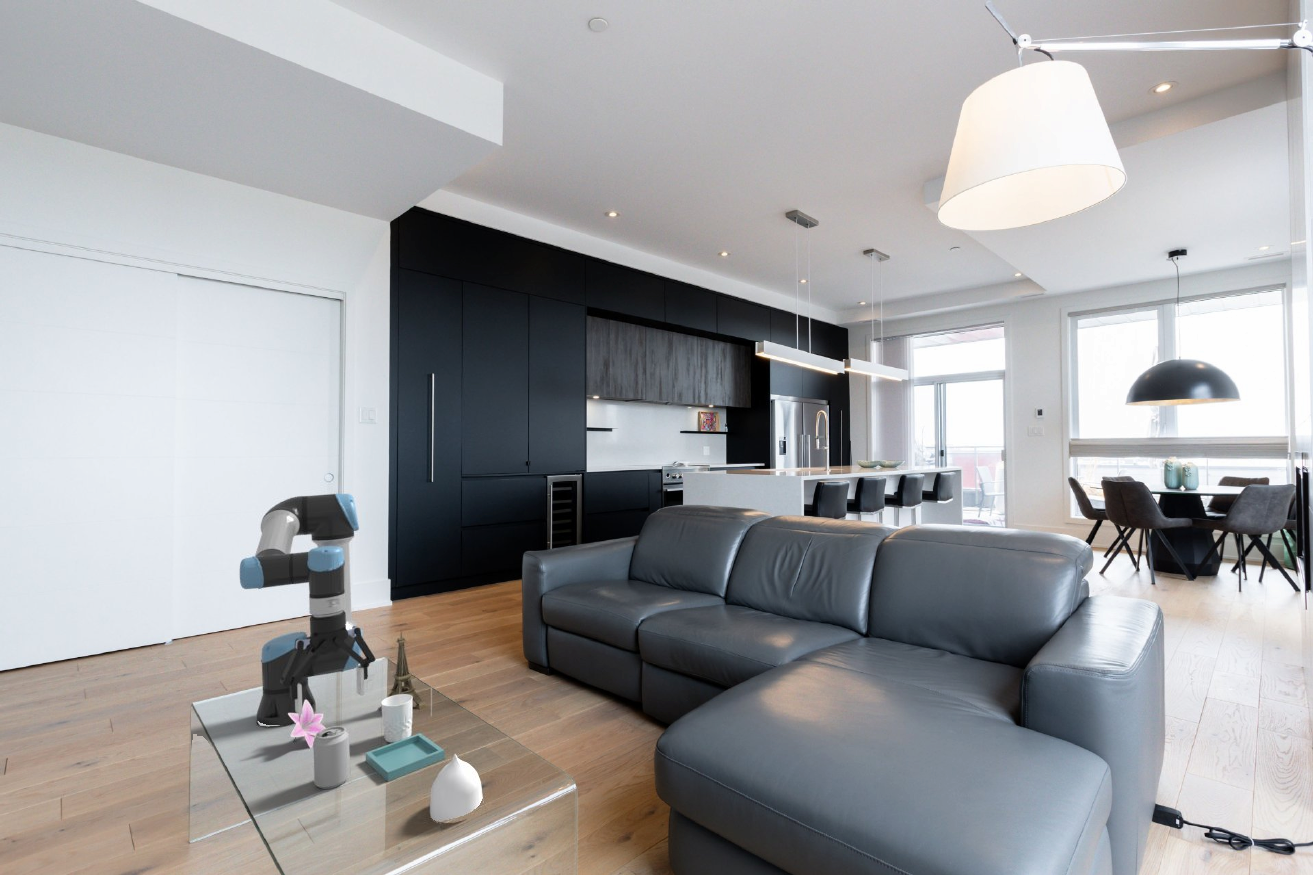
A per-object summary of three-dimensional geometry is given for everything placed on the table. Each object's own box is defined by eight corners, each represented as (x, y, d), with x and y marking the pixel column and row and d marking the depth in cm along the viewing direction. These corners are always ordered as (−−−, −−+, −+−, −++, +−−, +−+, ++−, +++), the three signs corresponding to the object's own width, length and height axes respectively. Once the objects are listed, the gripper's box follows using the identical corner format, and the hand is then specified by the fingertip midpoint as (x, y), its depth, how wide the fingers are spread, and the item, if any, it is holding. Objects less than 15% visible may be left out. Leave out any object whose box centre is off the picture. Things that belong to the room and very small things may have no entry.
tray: (365, 761, 157) (365, 752, 157) (420, 740, 167) (420, 733, 167) (388, 781, 147) (387, 772, 147) (444, 758, 157) (444, 750, 157)
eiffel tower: (412, 697, 196) (410, 617, 196) (428, 706, 189) (425, 623, 189) (378, 708, 189) (375, 625, 189) (393, 718, 181) (390, 632, 181)
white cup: (402, 744, 165) (401, 706, 165) (376, 743, 167) (374, 705, 167) (419, 731, 173) (418, 694, 173) (394, 729, 174) (392, 693, 174)
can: (323, 774, 151) (321, 725, 151) (355, 772, 152) (353, 722, 152) (308, 792, 144) (306, 739, 144) (342, 789, 144) (340, 737, 144)
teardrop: (481, 819, 131) (479, 762, 131) (426, 828, 129) (424, 769, 129) (484, 790, 142) (483, 737, 142) (433, 798, 140) (431, 744, 140)
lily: (282, 762, 160) (300, 728, 161) (266, 732, 167) (283, 700, 167) (326, 756, 170) (343, 724, 170) (309, 728, 177) (325, 698, 177)
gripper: (271, 628, 137) (275, 725, 136) (387, 604, 154) (390, 690, 154) (262, 622, 142) (266, 716, 142) (375, 599, 160) (378, 683, 159)
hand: (330, 703), depth 148 cm, fingers open, 13 cm apart
